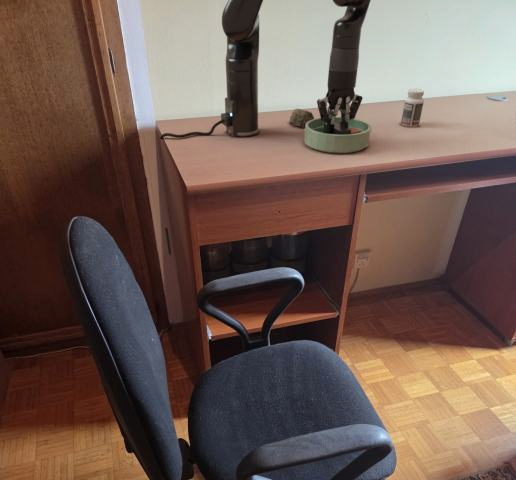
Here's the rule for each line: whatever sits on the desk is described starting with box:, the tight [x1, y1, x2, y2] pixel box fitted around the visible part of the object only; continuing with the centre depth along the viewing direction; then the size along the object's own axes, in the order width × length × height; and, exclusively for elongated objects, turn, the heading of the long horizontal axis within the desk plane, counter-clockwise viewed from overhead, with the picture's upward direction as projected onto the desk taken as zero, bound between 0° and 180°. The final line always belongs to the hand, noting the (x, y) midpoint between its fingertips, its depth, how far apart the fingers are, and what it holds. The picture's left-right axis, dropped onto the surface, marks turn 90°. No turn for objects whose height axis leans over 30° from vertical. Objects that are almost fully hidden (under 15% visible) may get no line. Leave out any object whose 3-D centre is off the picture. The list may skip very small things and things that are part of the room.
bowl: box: [303, 116, 372, 154], centre depth 130 cm, size 19×19×5 cm
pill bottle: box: [400, 88, 425, 128], centre depth 142 cm, size 6×6×10 cm
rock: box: [289, 108, 315, 129], centre depth 145 cm, size 7×8×4 cm
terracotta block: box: [350, 128, 361, 134], centre depth 129 cm, size 4×4×4 cm
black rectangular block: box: [323, 122, 351, 135], centre depth 129 cm, size 9×4×3 cm, turn 25°
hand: (336, 136), depth 130 cm, fingers closed on black rectangular block, 3 cm apart
